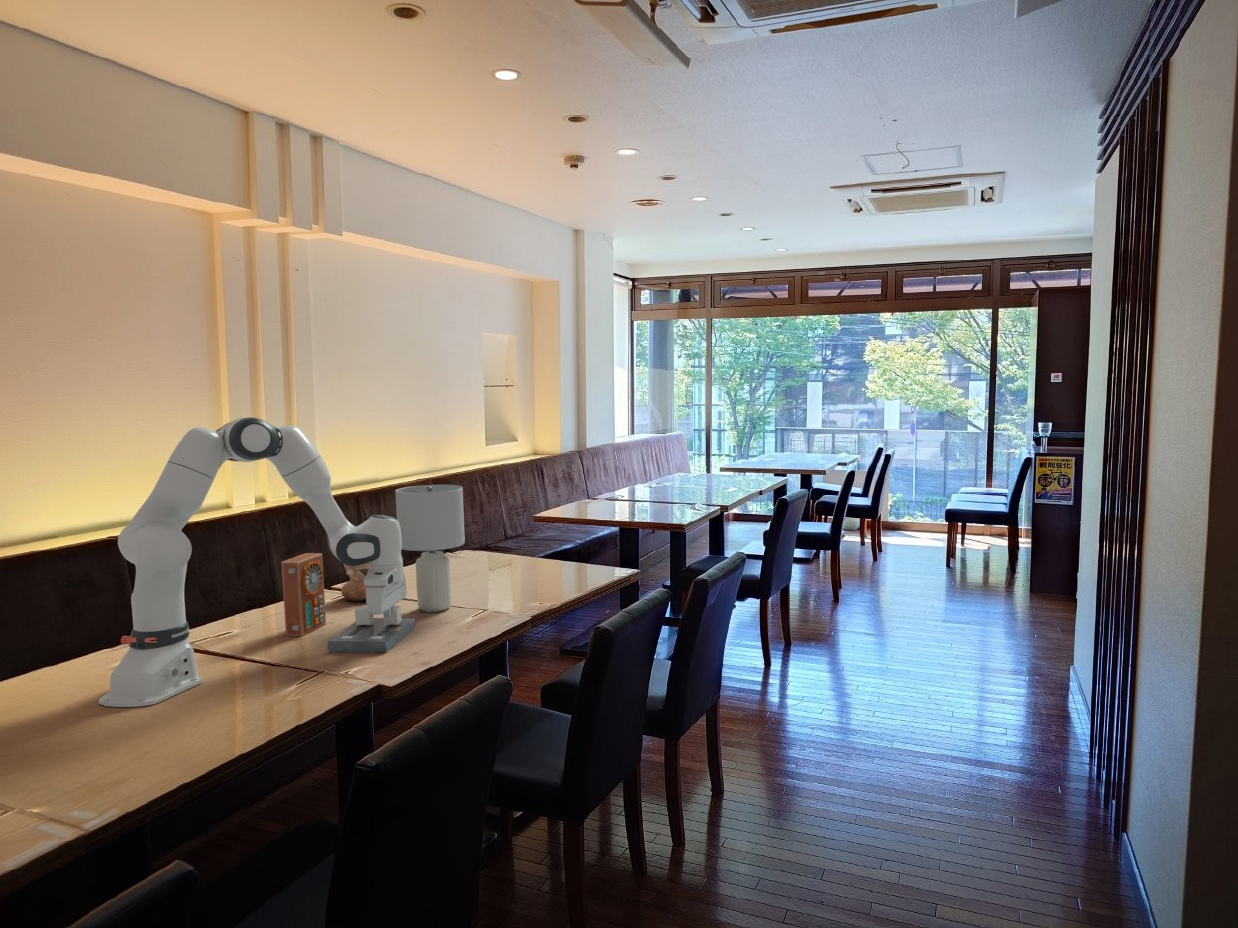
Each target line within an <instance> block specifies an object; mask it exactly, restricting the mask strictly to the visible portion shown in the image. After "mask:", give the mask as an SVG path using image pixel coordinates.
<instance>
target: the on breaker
mask: <svg viewBox="0 0 1238 928" xmlns="http://www.w3.org/2000/svg"><path fill="white" fill-rule="evenodd" d="M354 616H355V622H356V625H370V624H371V623H373V622H374V618H375V617H374V614H369V612H368V610H367V606H357V608H355V609H354Z"/></svg>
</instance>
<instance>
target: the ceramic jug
mask: <svg viewBox="0 0 1238 928" xmlns="http://www.w3.org/2000/svg"><path fill="white" fill-rule="evenodd" d="M343 566H344V569H345V571H346V572H345V574H346V575H347V576H348V577H349V579H350V580H348V581H347V582H346V583H344V584H343V586H342V587H341V591H340V592H341V595H342V597H343V598H345V599H347V600H349V601H353V602H354V601H355V602H366V588H367V586H365V585H364V578H365V577H366V575H367V574H368V572H369V569H370V562H368V563H365V564H361V565H357V566H348V565H345V564H343Z"/></svg>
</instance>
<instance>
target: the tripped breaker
mask: <svg viewBox="0 0 1238 928" xmlns="http://www.w3.org/2000/svg"><path fill="white" fill-rule="evenodd" d="M401 618H402V606H400V605H395V609H394V613H393V621H391V622H390V623H385V621H384V624H399V623H400V622H401V621H402V620H401Z"/></svg>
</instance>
